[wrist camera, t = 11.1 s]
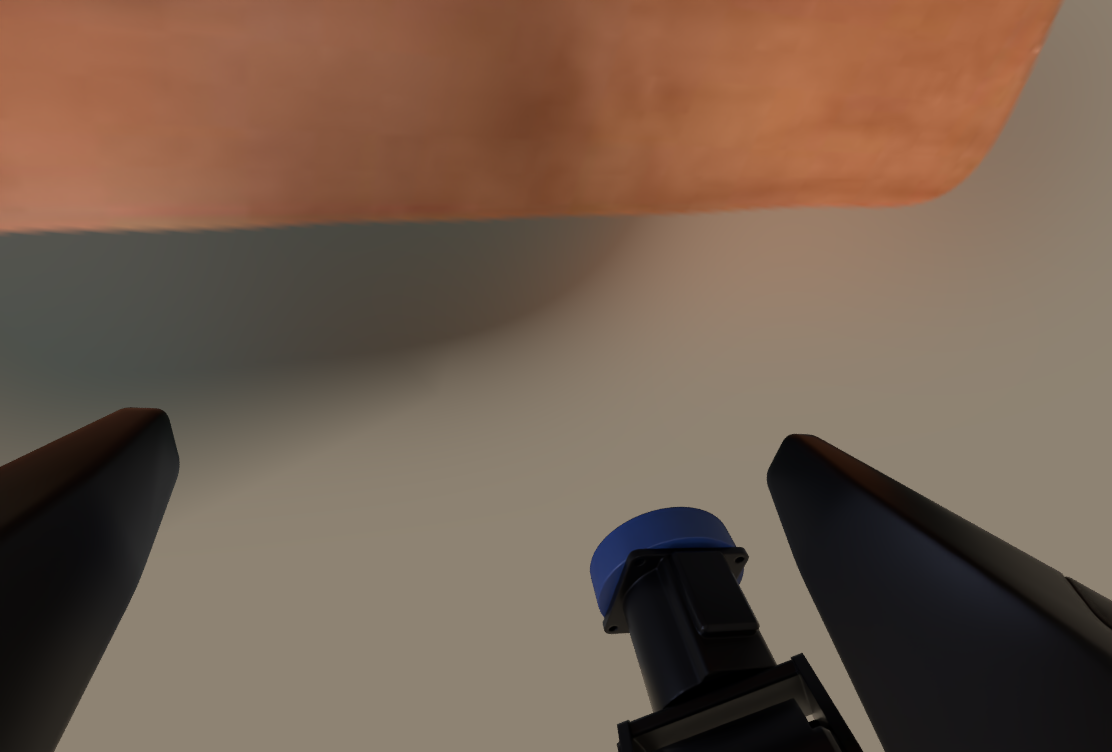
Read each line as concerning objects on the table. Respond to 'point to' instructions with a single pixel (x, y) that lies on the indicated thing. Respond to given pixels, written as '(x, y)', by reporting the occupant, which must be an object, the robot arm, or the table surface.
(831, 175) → the table surface
